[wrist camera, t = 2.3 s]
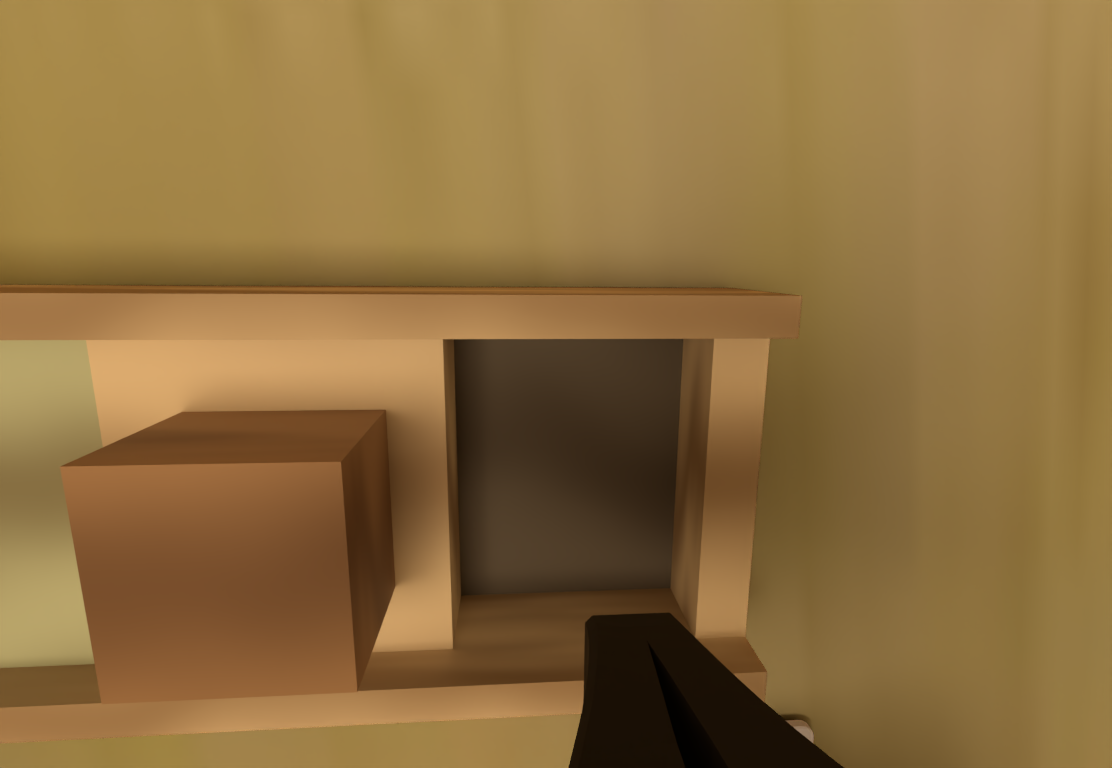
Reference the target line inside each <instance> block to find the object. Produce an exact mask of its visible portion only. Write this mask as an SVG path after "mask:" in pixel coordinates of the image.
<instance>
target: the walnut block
mask: <svg viewBox="0 0 1112 768" xmlns="http://www.w3.org/2000/svg"><path fill="white" fill-rule="evenodd" d="M60 470H61V476H62V481H63V487H64V493H65V498H66V504H67V510H68V515H69V521H70V527H71V532H72V538H73V544H74V550H75V555H76V561H77V567H78V572H79V578H80V584H81V589H82V595H83V601H84V607H85V612H86V618H87V624H88V629H89V635H90V641H91V646H92V652H93V658H94V664H95V669H96V675H97V681H98V686H99V692H100V698H101V703H102V704H118V703H140V702H161V701H182V700H204V699H225V698H246V697H268V696H289V695H310V694H332V693H353V692H358V689H359V687H360V684H361V681H362V678H363V676H364V673H365V670H366V667H367V664H368V662H369V659H370V656H371V653H372V651H373V648H374V645H375V642H376V639H377V637H378V634H379V631H380V628H381V626H382V623H383V620H384V617H385V614H386V612H387V609H388V606H389V603H390V600H391V598H392V595H393V592H394V589H395V569H394V550H393V532H392V513H391V495H390V476H389V458H388V439H387V421H386V410H301V411H212V412H181V413H178V414H176V415H174V416H172V417H169V418H167V419H165V420H163V421H160V422H158V423H156V424H154V425H152V426H149V427H147V428H145V429H143V430H140V431H138V432H136V433H134V434H132V435H129V436H127V437H125V438H123V439H120V440H118V441H116V442H114V443H111V444H109V445H107V446H105V447H103V448H100V449H98V450H96V451H94V452H91V453H89V454H87V455H85V456H83V457H80V458H78V459H76V460H74V461H71V462H69V463H67V464H65V465H62V466H60Z"/></svg>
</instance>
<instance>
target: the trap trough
mask: <svg viewBox="0 0 1112 768" xmlns="http://www.w3.org/2000/svg"><path fill="white" fill-rule="evenodd" d="M801 302H802V296H799V295H790V294H781V293H772V292H763V291H754V290H745V289H736V288H631V287H405V286H180V285H0V743H15V742H34V741H54V740H74V739H93V738H113V737H132V736H152V735H171V734H191V733H211V732H230V731H250V730H269V729H289V728H309V727H328V726H348V725H367V724H387V723H406V722H426V721H446V720H465V719H485V718H504V717H524V716H544V715H563V714H582V708H583V697H584V646H585V622H586V621H587V620H588V619H589V618H590V617H591V616H592V615H617V614H643V613H671V614H672V615H673V616H674V617H675V618H676V619H677V620H678V621H679V622H680V623H681V624H682V625H683V626H684V627H685V628H686V629H687V630H688V631H689V632H690V633H691V634H692V635H693V636H694V637H695V638H696V639H697V640H698V641H699V642H700V643H701V644H702V645H703V646H704V647H706V648H707V649H708V650H709V651H710V652H711V653H712V654H713V655H714V656H715V657H716V658H717V659H718V660H719V661H720V662H721V663H722V664H723V665H724V666H725V667H726V668H727V669H728V670H730V671H731V672H732V673H733V674H734V675H735V676H736V677H737V678H738V679H739V680H740V681H741V682H742V683H744V684H745V685H746V686H747V687H748V688H749V689H750V690H751V691H752V692H753V693H754V694H756V695H757V696H758V697H759V698H760V699H761V700H762V701H763V702H765V691H766V680H767V671H766V669H765V668H764V666H763V664H762V663H761V661H760V660H759V658H758V656H757V655H756V653H755V652H754V650H753V648H752V647H751V645H750V644H749V642H748V640H747V639H746V637H745V633H746V621H747V609H748V597H749V585H750V573H751V561H752V549H753V537H754V525H755V513H756V500H757V488H758V476H759V464H760V452H761V440H762V428H763V416H764V404H765V392H766V380H767V367H768V355H769V343H770V338H798V335H799V324H800V313H801ZM301 410H386V421H387V439H388V458H389V476H390V495H391V513H392V532H393V550H394V569H395V589H394V592H393V595H392V598H391V600H390V603H389V606H388V609H387V612H386V614H385V617H384V620H383V623H382V626H381V628H380V631H379V634H378V637H377V639H376V642H375V645H374V648H373V651H372V653H371V656H370V659H369V662H368V664H367V667H366V670H365V673H364V676H363V678H362V681H361V684H360V687H359V689H358V692H353V693H332V694H310V695H289V696H268V697H246V698H225V699H204V700H182V701H161V702H140V703H118V704H102V703H101V698H100V692H99V686H98V681H97V675H96V669H95V664H94V658H93V652H92V646H91V641H90V635H89V629H88V624H87V618H86V612H85V607H84V601H83V595H82V589H81V584H80V578H79V572H78V567H77V561H76V555H75V550H74V544H73V538H72V532H71V527H70V521H69V515H68V510H67V504H66V498H65V493H64V487H63V481H62V476H61V470H60V466H62V465H65V464H67V463H69V462H71V461H74V460H76V459H78V458H80V457H83V456H85V455H87V454H89V453H91V452H94V451H96V450H98V449H100V448H103V447H105V446H107V445H109V444H111V443H114V442H116V441H118V440H120V439H123V438H125V437H127V436H129V435H132V434H134V433H136V432H138V431H140V430H143V429H145V428H147V427H149V426H152V425H154V424H156V423H158V422H160V421H163V420H165V419H167V418H169V417H172V416H174V415H176V414H178V413H181V412H212V411H301Z"/></svg>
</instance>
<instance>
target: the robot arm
mask: <svg viewBox="0 0 1112 768" xmlns="http://www.w3.org/2000/svg"><path fill="white" fill-rule="evenodd" d="M813 741H814V734H813V732H812V730H811V728H810V727H809V725H808V724H807V723H806V722H805V721H803V720H784V719H783V718H782V717H781V716H780V715H778V714H777V713H776V712H775V711H774V710H773V709H771V708H770V707H769V706H768V705H767V704H766V703H765V702H763V701H762V700H761V699H760V698H759V697H758V696H757V695H756V694H754V693H753V692H752V691H751V690H750V689H749V688H748V687H747V686H746V685H745V684H744V683H742V682H741V681H740V680H739V679H738V678H737V677H736V676H735V675H734V674H733V673H732V672H731V671H730V670H728V669H727V668H726V667H725V666H724V665H723V664H722V663H721V662H720V661H719V660H718V659H717V658H716V657H715V656H714V655H713V654H712V653H711V652H710V651H709V650H708V649H707V648H706V647H704V646H703V645H702V644H701V643H700V642H699V641H698V640H697V639H696V638H695V637H694V636H693V635H692V634H691V633H690V632H689V631H688V630H687V629H686V628H685V627H684V626H683V625H682V624H681V623H680V622H679V621H678V620H677V619H676V618H675V617H674V616H673V615H672V614H671V613H643V614H617V615H592V616H591V617H590V618H589V619H588V620H587V621H586V622H585V646H584V697H583V708H582V714H581V719H580V723H579V727H578V731H577V736H576V740H575V744H574V748H573V752H572V756H571V760H570V764H569V768H844V767H842V766H841V765H840V764H838V763H837V762H836V761H834V760H833V759H832V758H831V757H829V756H828V755H827V754H826V753H824V752H823V751H822V750H821V749H820V748H818V747H817V746H816V745H815V744H813Z"/></svg>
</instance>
